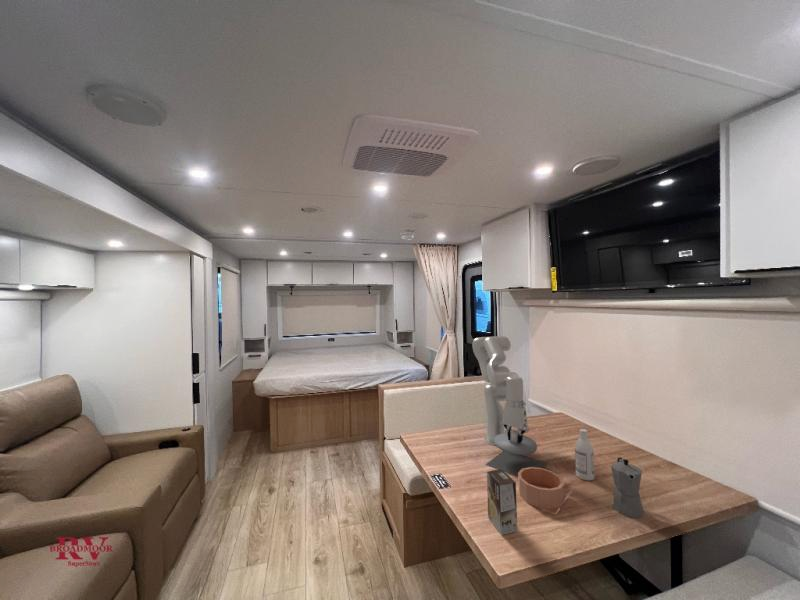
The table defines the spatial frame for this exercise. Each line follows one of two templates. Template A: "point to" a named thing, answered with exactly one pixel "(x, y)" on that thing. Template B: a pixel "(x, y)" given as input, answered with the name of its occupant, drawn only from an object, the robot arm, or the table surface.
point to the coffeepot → (627, 488)
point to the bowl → (541, 488)
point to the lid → (515, 444)
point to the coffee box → (502, 501)
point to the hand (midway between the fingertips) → (515, 440)
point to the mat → (514, 463)
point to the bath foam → (584, 457)
